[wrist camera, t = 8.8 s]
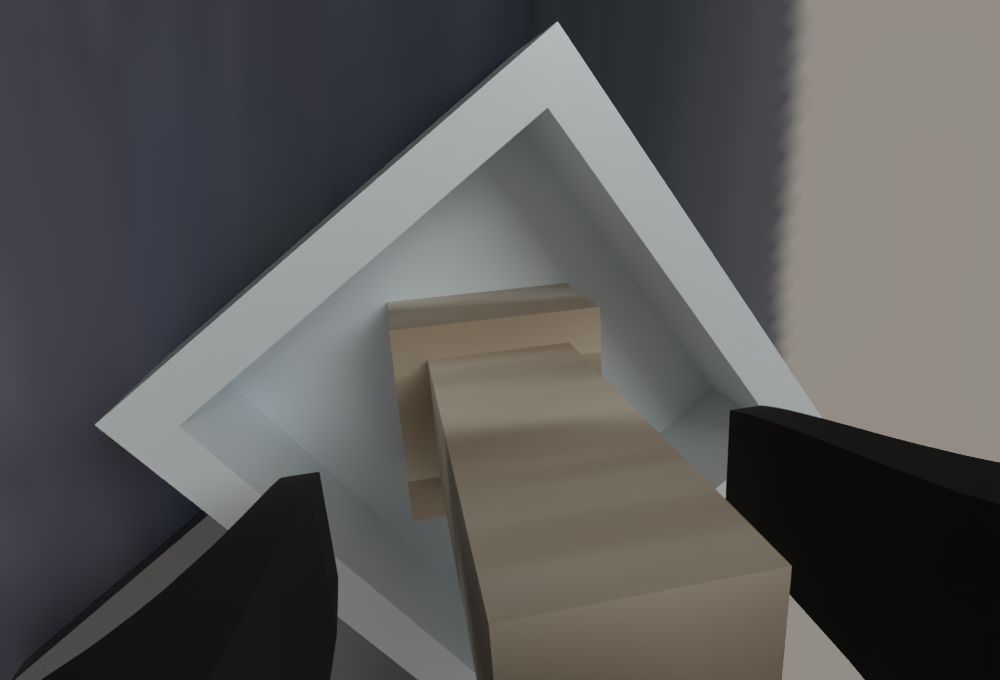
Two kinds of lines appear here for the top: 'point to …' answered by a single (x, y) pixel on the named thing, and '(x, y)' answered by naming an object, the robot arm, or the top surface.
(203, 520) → the stud plate
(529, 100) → the tray
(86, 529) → the top surface
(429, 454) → the strut
